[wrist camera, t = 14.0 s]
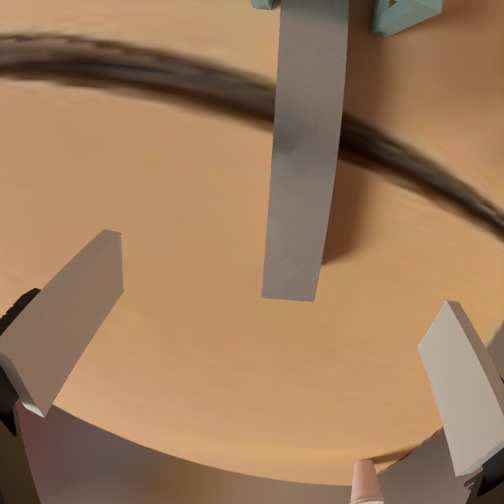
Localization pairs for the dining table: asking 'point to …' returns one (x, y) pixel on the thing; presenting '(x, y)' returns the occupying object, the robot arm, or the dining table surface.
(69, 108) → the dining table surface
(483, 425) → the robot arm
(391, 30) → the bridge
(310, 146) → the grey bar
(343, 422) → the dining table surface
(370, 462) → the smoothie
